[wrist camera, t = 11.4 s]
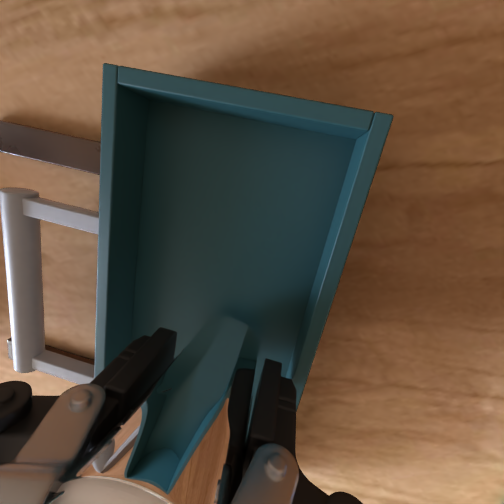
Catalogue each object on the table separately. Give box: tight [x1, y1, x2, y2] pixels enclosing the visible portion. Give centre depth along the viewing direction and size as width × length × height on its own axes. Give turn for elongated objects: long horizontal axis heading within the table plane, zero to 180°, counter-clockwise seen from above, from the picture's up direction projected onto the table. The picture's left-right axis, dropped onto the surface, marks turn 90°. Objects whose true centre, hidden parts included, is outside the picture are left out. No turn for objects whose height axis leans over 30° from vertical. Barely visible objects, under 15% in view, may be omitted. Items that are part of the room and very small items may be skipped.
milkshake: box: [46, 316, 260, 504], centre depth 9 cm, size 4×5×10 cm
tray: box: [0, 63, 393, 434], centre depth 14 cm, size 16×21×3 cm
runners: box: [0, 120, 101, 365], centre depth 16 cm, size 19×16×1 cm
